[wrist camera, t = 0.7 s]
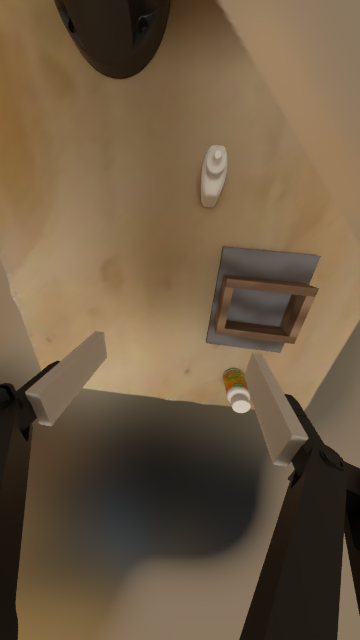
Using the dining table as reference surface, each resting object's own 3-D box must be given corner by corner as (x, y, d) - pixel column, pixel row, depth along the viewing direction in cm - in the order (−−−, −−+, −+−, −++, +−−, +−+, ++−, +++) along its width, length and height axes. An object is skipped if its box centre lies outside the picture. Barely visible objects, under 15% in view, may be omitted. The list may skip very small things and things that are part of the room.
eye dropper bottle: (191, 197, 30) (187, 168, 19) (210, 163, 28) (219, 108, 17) (210, 212, 30) (216, 193, 20) (230, 180, 28) (251, 139, 17)
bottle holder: (223, 246, 33) (227, 246, 28) (317, 255, 32) (339, 257, 27) (206, 340, 42) (207, 353, 37) (278, 350, 41) (289, 364, 36)
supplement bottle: (240, 365, 44) (250, 395, 35) (245, 380, 46) (256, 412, 37) (220, 370, 45) (225, 401, 36) (226, 385, 47) (232, 416, 38)
